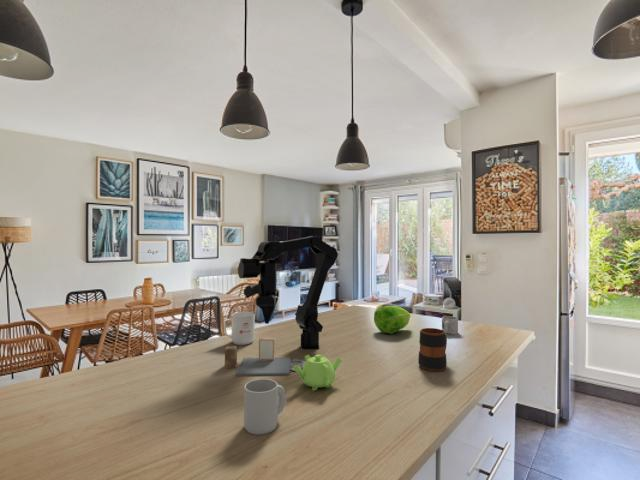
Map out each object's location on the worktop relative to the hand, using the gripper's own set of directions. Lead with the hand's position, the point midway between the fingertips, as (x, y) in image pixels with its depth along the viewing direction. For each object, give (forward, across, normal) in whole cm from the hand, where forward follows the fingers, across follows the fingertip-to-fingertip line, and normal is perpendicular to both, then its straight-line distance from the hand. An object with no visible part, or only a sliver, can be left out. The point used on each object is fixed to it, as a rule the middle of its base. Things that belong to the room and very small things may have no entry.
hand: (268, 320), depth 125 cm
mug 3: (+13, -27, +76) cm, 81 cm away
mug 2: (+12, +12, +55) cm, 58 cm away
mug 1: (+12, -14, -13) cm, 23 cm away
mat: (+12, +12, 0) cm, 17 cm away
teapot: (+12, +26, +17) cm, 33 cm away
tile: (+11, +7, 0) cm, 13 cm away
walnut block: (+12, +12, -11) cm, 20 cm away
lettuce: (+13, -30, +53) cm, 62 cm away
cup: (+12, +47, +5) cm, 49 cm away
